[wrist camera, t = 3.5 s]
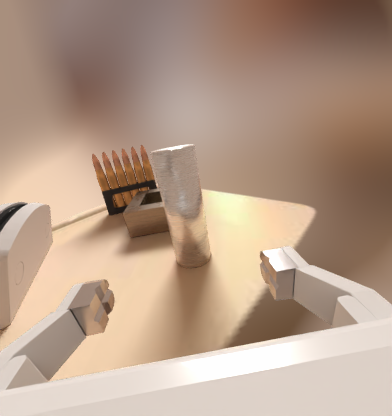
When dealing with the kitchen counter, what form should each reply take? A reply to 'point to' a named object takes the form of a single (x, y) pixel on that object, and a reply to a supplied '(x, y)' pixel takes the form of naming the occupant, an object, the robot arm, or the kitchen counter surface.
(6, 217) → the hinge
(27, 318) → the kitchen counter surface
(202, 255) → the pin
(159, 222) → the square nut block
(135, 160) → the ammunition clip
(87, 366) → the kitchen counter surface
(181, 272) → the kitchen counter surface
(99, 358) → the kitchen counter surface
